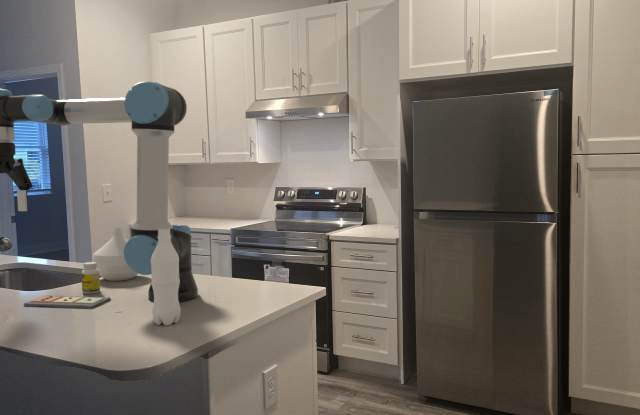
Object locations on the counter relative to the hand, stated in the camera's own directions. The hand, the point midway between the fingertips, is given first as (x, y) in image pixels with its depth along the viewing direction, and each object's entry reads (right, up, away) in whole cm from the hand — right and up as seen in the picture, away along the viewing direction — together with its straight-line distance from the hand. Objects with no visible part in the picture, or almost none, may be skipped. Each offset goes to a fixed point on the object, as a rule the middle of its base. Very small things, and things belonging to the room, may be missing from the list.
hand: (4, 213), depth 162 cm
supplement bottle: (+19, -27, +16) cm, 36 cm away
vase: (+21, -25, +38) cm, 50 cm away
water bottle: (+55, -29, -20) cm, 65 cm away
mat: (+18, -27, +2) cm, 33 cm away
